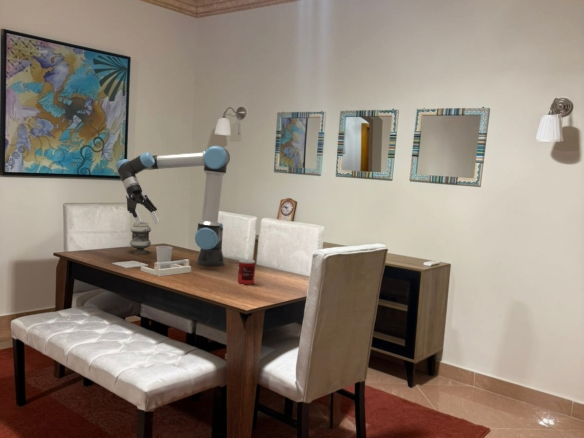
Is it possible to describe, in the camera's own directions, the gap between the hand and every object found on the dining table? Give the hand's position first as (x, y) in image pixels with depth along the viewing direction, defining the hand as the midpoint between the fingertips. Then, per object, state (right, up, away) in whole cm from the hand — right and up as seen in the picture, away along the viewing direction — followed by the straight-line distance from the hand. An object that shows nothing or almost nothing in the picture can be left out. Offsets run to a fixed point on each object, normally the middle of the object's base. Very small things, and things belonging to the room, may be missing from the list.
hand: (148, 222), depth 276 cm
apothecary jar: (-17, -18, +43) cm, 50 cm away
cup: (+8, -24, -3) cm, 26 cm away
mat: (-11, -22, +6) cm, 25 cm away
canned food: (+52, -29, -19) cm, 62 cm away
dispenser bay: (+10, -24, -4) cm, 27 cm away
